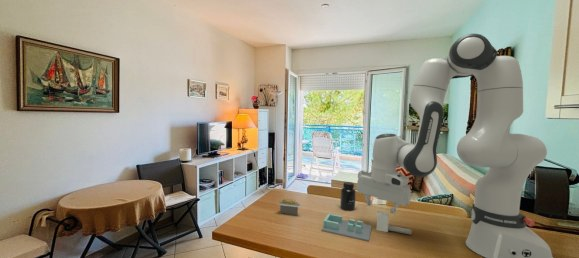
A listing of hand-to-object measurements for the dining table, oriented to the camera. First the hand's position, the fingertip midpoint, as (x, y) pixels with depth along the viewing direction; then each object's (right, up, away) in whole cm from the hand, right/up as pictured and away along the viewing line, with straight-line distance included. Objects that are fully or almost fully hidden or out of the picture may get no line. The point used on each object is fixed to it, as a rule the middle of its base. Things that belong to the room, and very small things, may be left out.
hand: (380, 208), depth 93 cm
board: (-14, -7, -2) cm, 16 cm away
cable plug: (+4, -7, -3) cm, 9 cm away
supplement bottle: (-8, -6, +19) cm, 21 cm away
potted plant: (-36, -7, +11) cm, 39 cm away
